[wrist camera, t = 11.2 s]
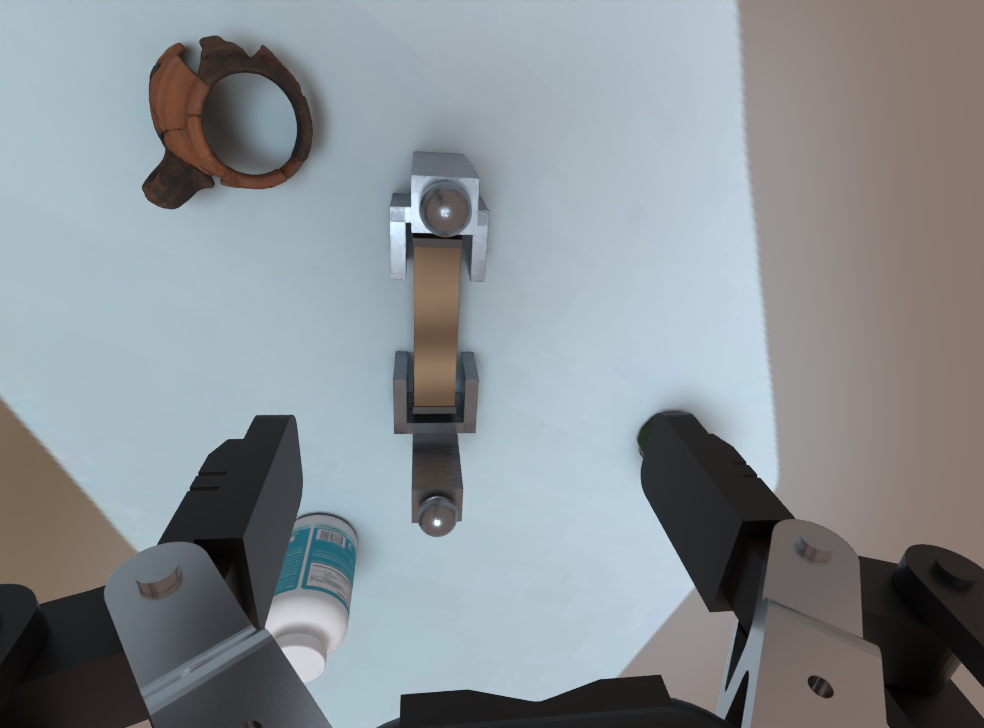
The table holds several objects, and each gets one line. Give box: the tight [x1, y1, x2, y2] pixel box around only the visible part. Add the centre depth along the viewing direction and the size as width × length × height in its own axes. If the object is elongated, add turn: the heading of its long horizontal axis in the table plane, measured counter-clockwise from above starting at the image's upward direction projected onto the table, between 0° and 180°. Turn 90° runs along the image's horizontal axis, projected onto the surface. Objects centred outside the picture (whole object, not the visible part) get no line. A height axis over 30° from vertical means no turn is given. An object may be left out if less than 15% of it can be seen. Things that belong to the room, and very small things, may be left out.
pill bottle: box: [265, 515, 357, 683], centre depth 48 cm, size 8×7×14 cm
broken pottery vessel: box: [142, 36, 313, 209], centre depth 35 cm, size 12×10×8 cm
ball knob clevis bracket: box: [390, 152, 489, 537], centre depth 38 cm, size 24×7×14 cm, turn 176°
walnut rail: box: [413, 233, 463, 414], centre depth 42 cm, size 14×3×5 cm, turn 176°
